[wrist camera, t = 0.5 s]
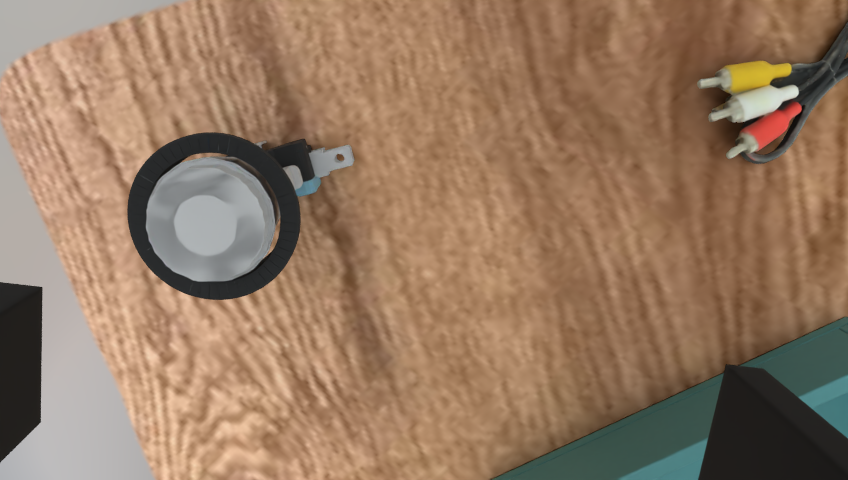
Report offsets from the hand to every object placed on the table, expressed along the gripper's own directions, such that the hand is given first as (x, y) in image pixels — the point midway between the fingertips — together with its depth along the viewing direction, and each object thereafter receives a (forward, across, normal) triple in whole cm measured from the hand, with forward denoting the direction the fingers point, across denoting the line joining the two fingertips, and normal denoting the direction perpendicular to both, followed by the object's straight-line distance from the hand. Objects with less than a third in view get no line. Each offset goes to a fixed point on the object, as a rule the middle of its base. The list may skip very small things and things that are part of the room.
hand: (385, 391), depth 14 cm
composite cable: (+19, +17, +8) cm, 26 cm away
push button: (+19, -5, +1) cm, 20 cm away
